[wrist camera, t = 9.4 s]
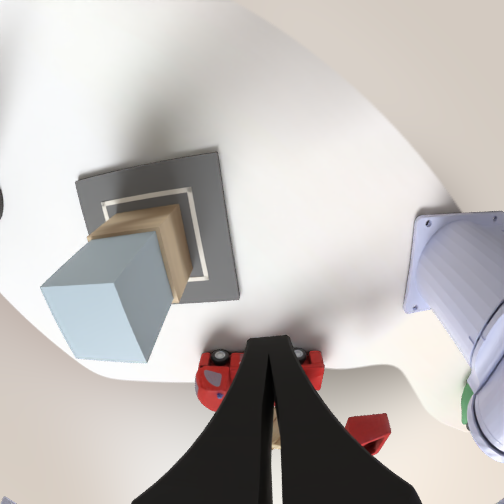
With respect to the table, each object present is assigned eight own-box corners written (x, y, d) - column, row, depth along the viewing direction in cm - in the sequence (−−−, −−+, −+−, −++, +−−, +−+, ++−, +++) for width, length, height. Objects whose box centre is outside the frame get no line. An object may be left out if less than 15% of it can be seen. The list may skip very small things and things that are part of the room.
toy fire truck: (197, 347, 23) (174, 449, 15) (362, 342, 23) (395, 438, 14) (203, 373, 25) (185, 468, 16) (355, 368, 24) (380, 459, 16)
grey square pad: (217, 151, 17) (216, 152, 16) (239, 296, 21) (239, 300, 21) (77, 180, 17) (74, 181, 17) (115, 303, 22) (113, 306, 21)
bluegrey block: (173, 298, 16) (147, 363, 11) (112, 301, 16) (76, 358, 12) (155, 230, 14) (113, 282, 10) (91, 239, 14) (39, 287, 10)
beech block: (179, 203, 18) (159, 226, 14) (192, 268, 20) (179, 302, 16) (116, 213, 18) (86, 237, 14) (133, 273, 20) (111, 305, 16)
